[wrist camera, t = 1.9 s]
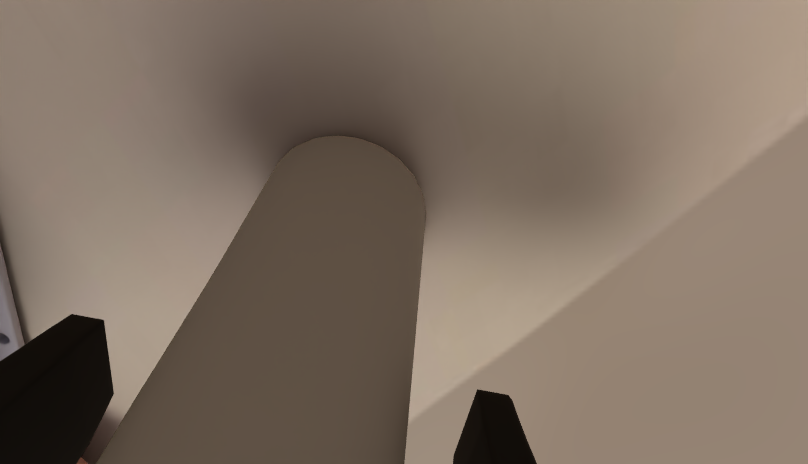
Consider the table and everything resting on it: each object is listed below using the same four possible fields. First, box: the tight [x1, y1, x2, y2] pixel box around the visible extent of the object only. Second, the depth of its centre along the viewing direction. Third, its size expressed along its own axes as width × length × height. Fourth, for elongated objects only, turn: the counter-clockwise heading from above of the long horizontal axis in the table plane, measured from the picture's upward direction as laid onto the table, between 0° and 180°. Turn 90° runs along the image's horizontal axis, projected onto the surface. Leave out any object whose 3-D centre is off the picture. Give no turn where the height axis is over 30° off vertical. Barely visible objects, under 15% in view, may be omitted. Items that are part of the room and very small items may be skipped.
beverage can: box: [96, 135, 426, 464], centre depth 13 cm, size 5×5×12 cm
